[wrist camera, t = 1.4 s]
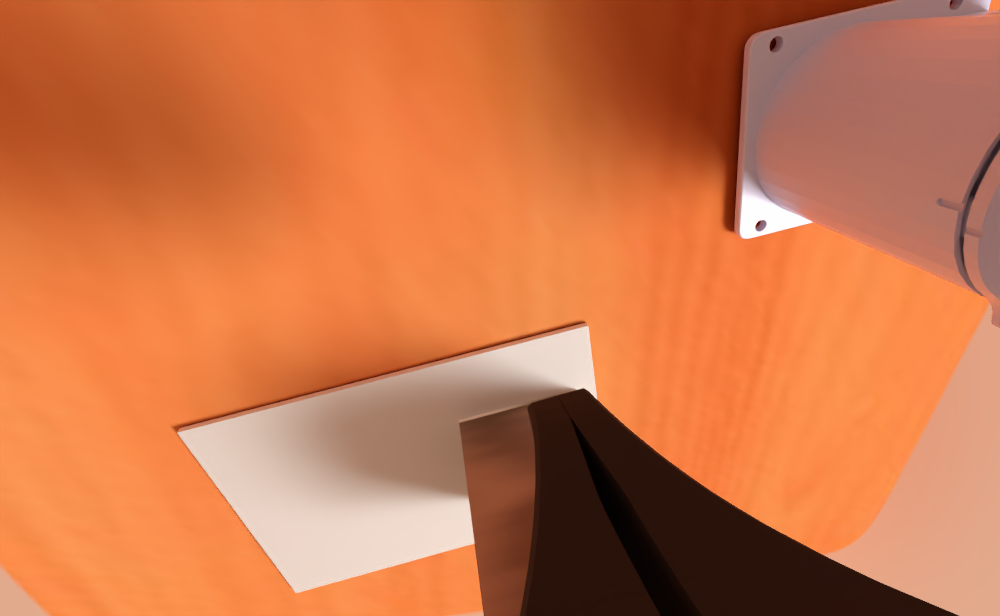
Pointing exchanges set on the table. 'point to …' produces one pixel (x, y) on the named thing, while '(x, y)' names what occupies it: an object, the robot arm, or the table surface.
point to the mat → (375, 457)
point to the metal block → (501, 501)
